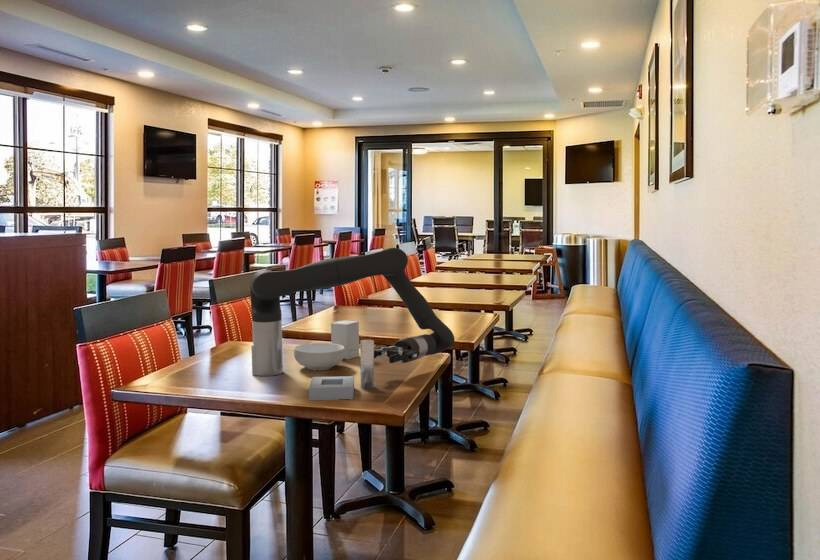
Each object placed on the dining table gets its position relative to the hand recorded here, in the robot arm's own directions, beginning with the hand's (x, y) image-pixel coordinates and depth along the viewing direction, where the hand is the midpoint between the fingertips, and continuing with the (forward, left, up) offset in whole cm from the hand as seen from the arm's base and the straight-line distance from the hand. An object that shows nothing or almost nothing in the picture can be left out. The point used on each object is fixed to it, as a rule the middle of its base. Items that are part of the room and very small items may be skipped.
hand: (379, 357), depth 196 cm
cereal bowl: (-19, +22, -8) cm, 30 cm away
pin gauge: (-3, -4, -8) cm, 10 cm away
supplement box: (-11, +38, -8) cm, 40 cm away
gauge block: (-13, -10, -8) cm, 19 cm away
